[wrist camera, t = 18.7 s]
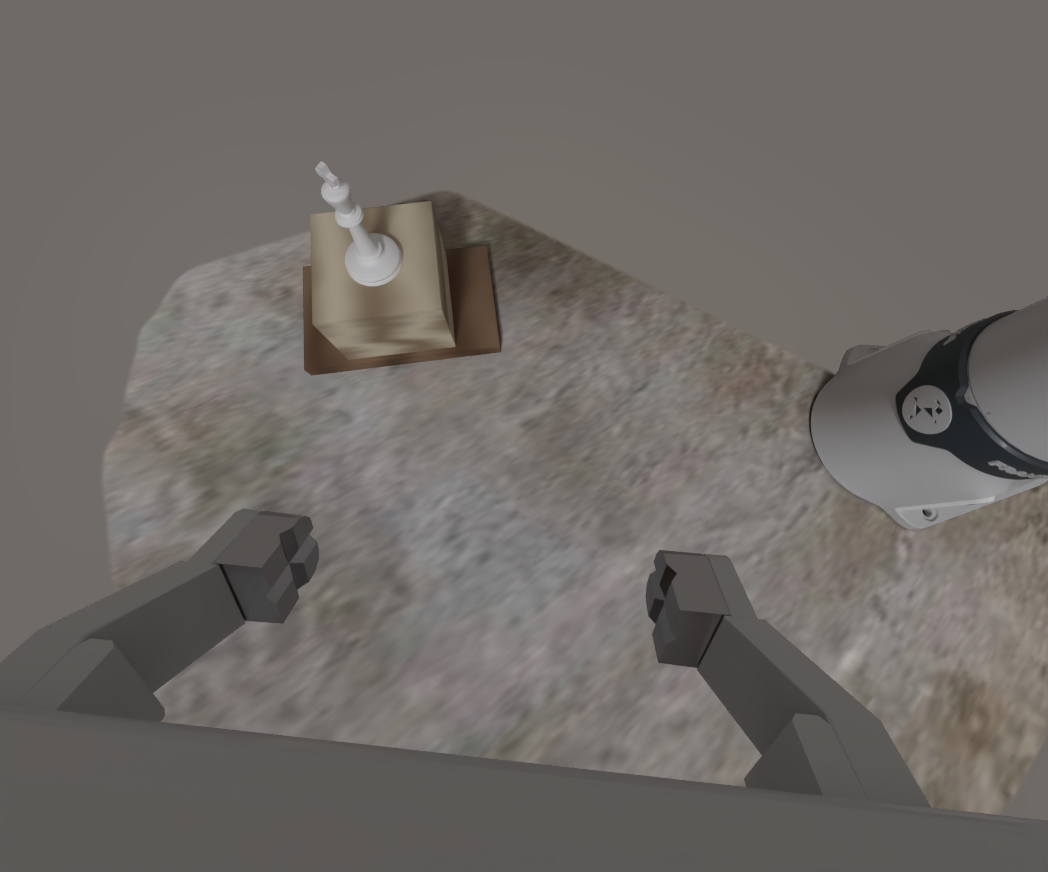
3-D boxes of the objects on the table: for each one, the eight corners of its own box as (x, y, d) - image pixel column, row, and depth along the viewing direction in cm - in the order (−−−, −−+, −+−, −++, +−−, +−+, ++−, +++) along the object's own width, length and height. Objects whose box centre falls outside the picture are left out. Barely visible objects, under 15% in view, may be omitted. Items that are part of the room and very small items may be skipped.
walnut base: (488, 254, 48) (479, 190, 39) (500, 351, 45) (494, 307, 36) (309, 275, 47) (260, 215, 38) (311, 375, 44) (258, 335, 36)
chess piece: (374, 228, 38) (322, 122, 28) (414, 258, 37) (375, 160, 28) (335, 265, 37) (267, 169, 27) (375, 297, 36) (320, 210, 27)
